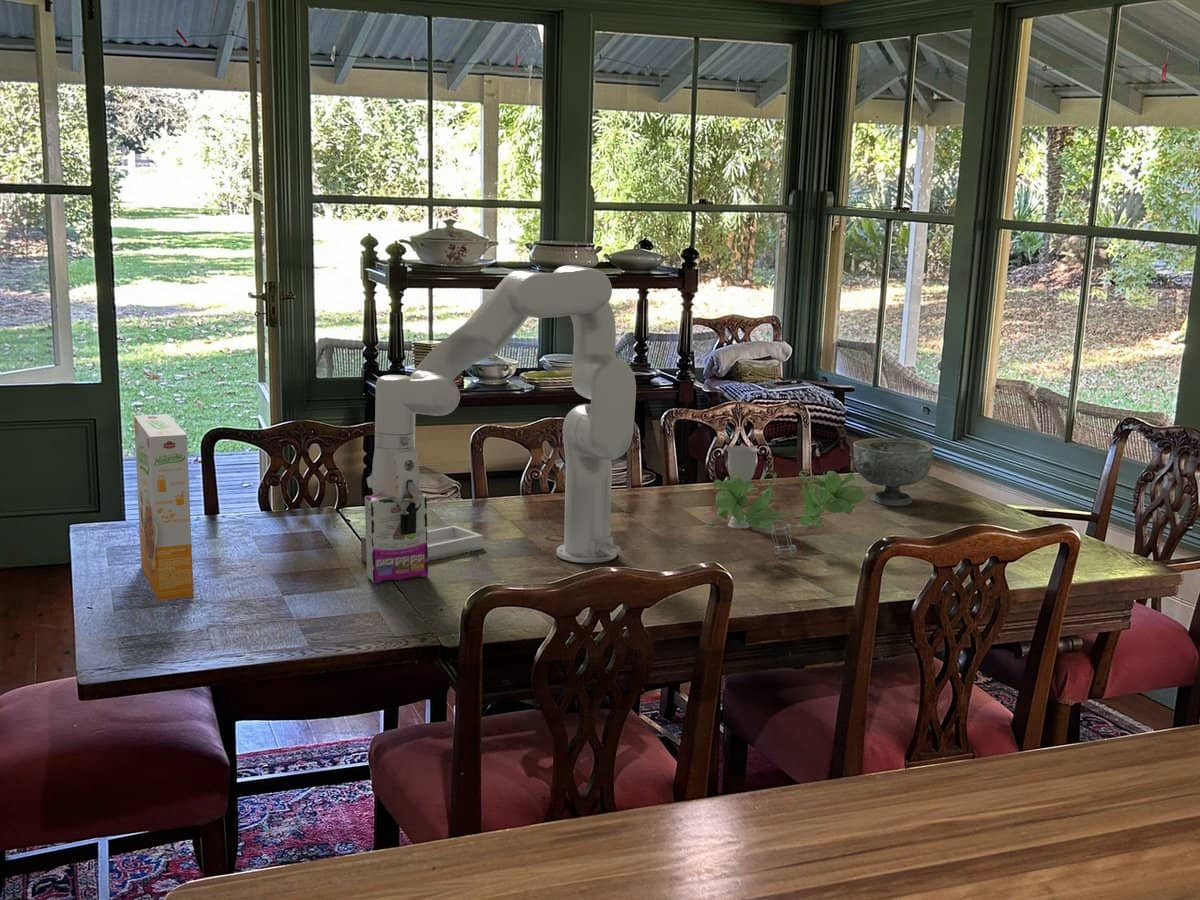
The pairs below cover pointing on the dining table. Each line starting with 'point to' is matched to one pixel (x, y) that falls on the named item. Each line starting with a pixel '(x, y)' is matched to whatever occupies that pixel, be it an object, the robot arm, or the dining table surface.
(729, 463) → the chalice
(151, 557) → the cereal box
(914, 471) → the bowl
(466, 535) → the tray
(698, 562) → the dining table surface
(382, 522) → the candy bar box
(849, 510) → the plant cuttings
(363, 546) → the brick
